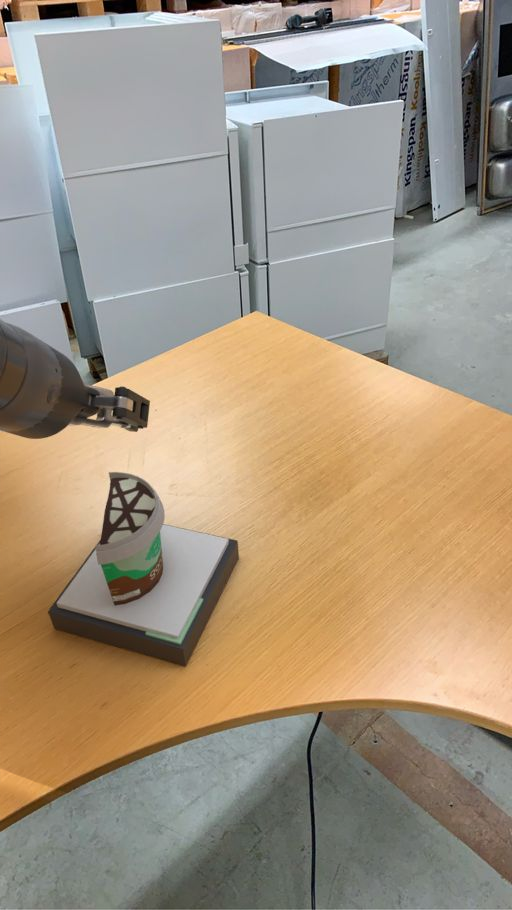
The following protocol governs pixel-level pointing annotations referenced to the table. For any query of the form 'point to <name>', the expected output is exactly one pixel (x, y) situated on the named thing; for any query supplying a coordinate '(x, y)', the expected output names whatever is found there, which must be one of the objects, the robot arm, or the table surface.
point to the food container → (131, 538)
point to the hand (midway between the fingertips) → (94, 418)
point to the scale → (152, 598)
